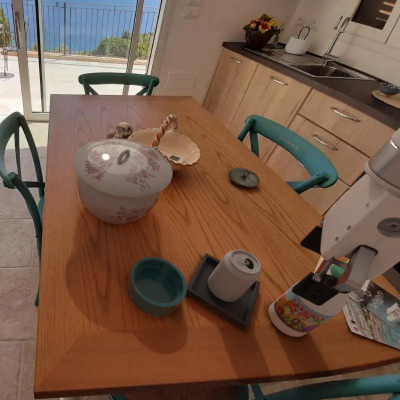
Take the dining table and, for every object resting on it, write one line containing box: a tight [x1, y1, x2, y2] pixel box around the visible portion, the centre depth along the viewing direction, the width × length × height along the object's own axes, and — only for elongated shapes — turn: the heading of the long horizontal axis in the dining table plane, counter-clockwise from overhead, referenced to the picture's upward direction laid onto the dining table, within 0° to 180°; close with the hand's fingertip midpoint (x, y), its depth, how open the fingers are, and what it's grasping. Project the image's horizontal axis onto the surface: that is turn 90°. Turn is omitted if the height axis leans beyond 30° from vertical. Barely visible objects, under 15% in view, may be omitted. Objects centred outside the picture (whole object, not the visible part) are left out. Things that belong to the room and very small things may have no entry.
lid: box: [228, 167, 261, 188], centre depth 98 cm, size 11×10×5 cm
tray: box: [185, 252, 262, 331], centre depth 65 cm, size 14×14×2 cm
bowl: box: [126, 256, 188, 317], centre depth 63 cm, size 13×13×5 cm
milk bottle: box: [268, 261, 367, 338], centre depth 54 cm, size 8×8×20 cm
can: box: [208, 248, 262, 302], centre depth 61 cm, size 8×8×12 cm
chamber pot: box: [72, 138, 174, 226], centre depth 78 cm, size 28×28×21 cm
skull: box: [106, 121, 134, 139], centre depth 115 cm, size 12×10×10 cm
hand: (308, 271), depth 37 cm, fingers open, 9 cm apart
